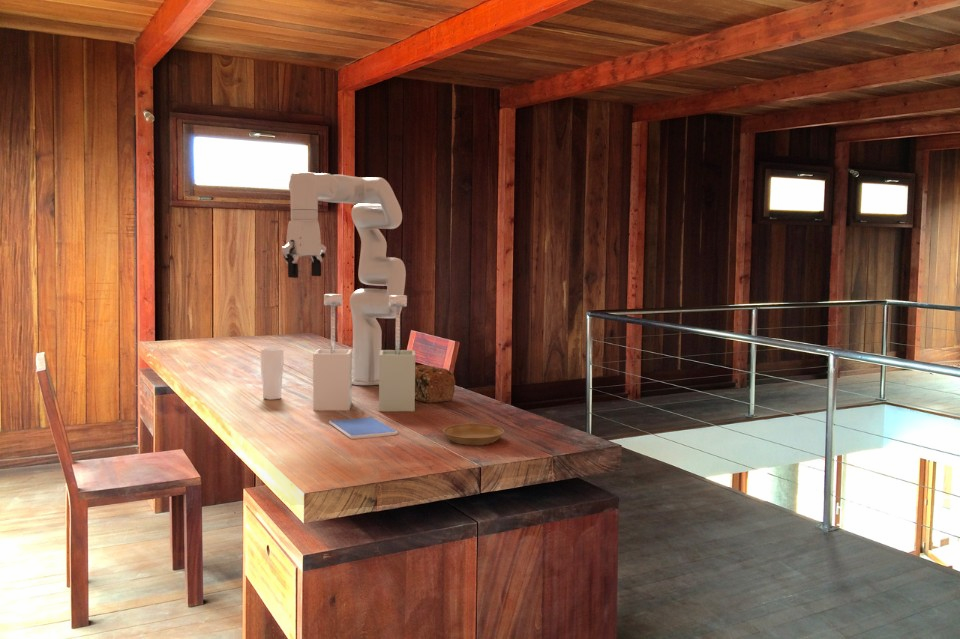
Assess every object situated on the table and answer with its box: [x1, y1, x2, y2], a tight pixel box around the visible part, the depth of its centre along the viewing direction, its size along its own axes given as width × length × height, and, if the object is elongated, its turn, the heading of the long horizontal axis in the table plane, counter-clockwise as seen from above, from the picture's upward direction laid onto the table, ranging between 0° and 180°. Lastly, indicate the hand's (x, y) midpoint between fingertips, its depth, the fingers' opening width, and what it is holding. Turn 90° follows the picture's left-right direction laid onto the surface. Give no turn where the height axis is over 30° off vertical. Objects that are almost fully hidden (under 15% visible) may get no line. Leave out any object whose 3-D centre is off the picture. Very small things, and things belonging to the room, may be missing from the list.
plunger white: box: [323, 293, 343, 354], centre depth 230 cm, size 8×8×21 cm
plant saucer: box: [443, 423, 505, 446], centre depth 197 cm, size 15×15×3 cm
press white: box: [312, 348, 353, 411], centre depth 232 cm, size 10×10×16 cm
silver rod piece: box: [389, 294, 408, 355], centre depth 231 cm, size 8×8×21 cm
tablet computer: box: [328, 416, 399, 440], centre depth 207 cm, size 19×13×1 cm, turn 27°
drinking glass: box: [259, 347, 285, 401], centre depth 242 cm, size 7×7×15 cm
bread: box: [415, 364, 456, 404], centre depth 249 cm, size 19×11×10 cm, turn 34°
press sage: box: [378, 349, 416, 412], centre depth 232 cm, size 10×10×16 cm
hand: (305, 276), depth 231 cm, fingers open, 9 cm apart
